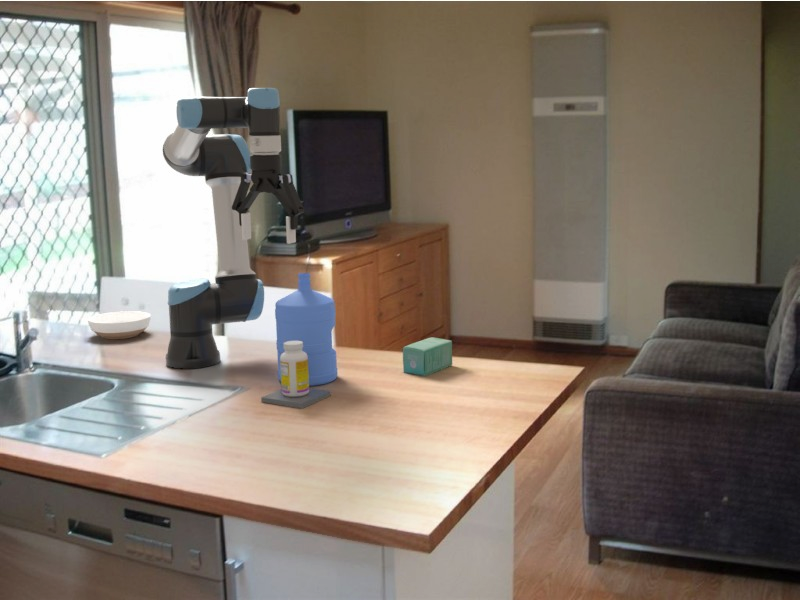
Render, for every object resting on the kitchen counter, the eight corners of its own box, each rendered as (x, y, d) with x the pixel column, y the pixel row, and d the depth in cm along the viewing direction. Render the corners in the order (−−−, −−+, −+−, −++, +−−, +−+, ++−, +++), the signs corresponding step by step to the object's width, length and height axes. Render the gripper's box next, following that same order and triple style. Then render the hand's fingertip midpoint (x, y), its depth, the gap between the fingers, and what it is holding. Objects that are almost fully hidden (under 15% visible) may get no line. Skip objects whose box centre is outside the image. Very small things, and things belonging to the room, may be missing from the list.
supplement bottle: (311, 390, 224) (309, 339, 221) (306, 397, 217) (304, 345, 215) (285, 390, 224) (282, 339, 222) (279, 397, 218) (276, 345, 215)
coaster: (261, 401, 219) (261, 397, 218) (291, 389, 229) (291, 384, 229) (301, 408, 213) (301, 403, 213) (330, 395, 223) (330, 390, 223)
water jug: (305, 390, 227) (301, 281, 222) (265, 380, 238) (260, 275, 233) (350, 377, 239) (346, 273, 234) (310, 368, 249) (306, 267, 244)
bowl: (77, 341, 288) (76, 322, 287) (107, 328, 307) (105, 310, 306) (135, 342, 285) (134, 323, 283) (161, 329, 304) (160, 311, 302)
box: (402, 372, 243) (401, 345, 242) (430, 362, 254) (430, 336, 252) (424, 377, 239) (424, 349, 237) (452, 366, 249) (452, 339, 248)
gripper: (215, 153, 220) (219, 239, 225) (298, 155, 209) (301, 246, 213) (234, 152, 227) (238, 236, 231) (317, 153, 215) (319, 242, 219)
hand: (268, 241), depth 222 cm, fingers open, 13 cm apart
